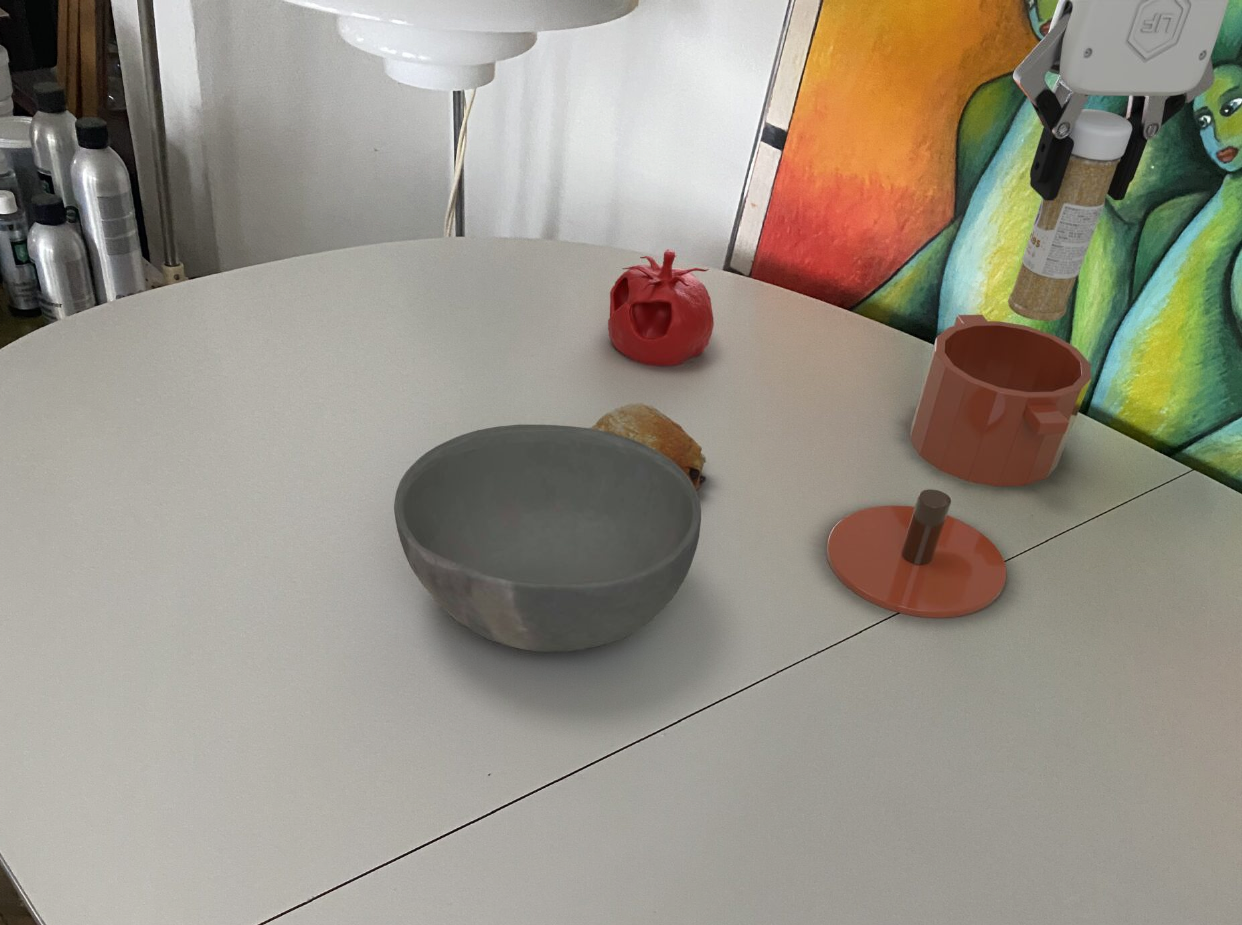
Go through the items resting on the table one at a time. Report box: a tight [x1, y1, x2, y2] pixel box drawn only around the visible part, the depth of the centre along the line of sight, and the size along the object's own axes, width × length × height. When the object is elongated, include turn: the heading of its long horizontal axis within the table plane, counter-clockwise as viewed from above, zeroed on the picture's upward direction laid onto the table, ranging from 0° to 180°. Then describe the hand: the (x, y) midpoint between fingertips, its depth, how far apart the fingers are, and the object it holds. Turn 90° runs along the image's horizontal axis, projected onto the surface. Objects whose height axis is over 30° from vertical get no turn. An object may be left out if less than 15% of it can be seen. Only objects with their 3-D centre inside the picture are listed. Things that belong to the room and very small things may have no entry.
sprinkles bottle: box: [1007, 108, 1132, 322], centre depth 89 cm, size 5×5×13 cm
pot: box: [909, 314, 1093, 488], centre depth 102 cm, size 13×18×8 cm
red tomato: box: [607, 248, 715, 367], centre depth 109 cm, size 10×10×9 cm
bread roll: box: [589, 402, 707, 492], centre depth 96 cm, size 10×10×8 cm
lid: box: [825, 489, 1007, 619], centre depth 90 cm, size 14×14×6 cm
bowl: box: [393, 424, 702, 653], centre depth 82 cm, size 20×20×10 cm
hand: (1076, 190), depth 87 cm, fingers closed on sprinkles bottle, 4 cm apart
